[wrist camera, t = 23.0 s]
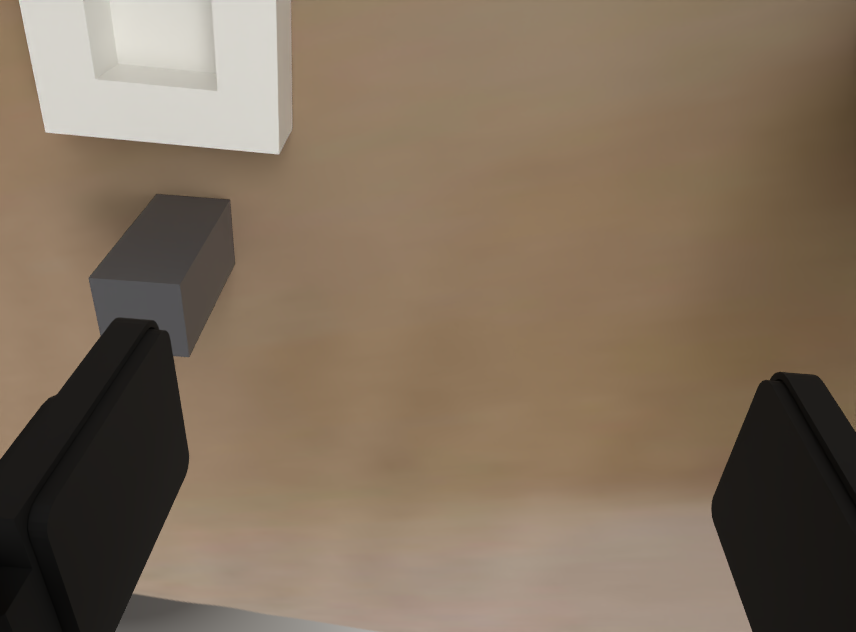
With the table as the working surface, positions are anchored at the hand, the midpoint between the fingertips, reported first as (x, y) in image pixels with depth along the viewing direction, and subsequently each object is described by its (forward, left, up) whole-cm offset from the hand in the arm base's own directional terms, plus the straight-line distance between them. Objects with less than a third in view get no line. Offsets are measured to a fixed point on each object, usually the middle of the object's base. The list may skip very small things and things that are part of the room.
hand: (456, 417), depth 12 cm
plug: (+14, +14, -31) cm, 37 cm away
